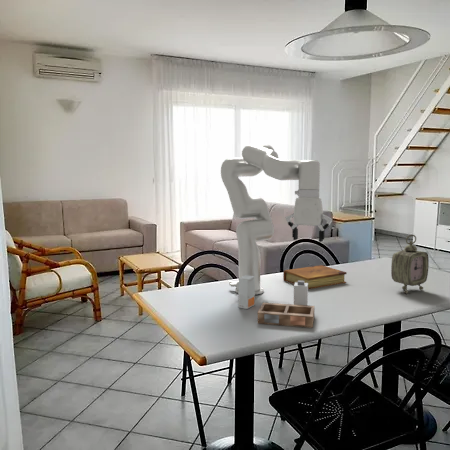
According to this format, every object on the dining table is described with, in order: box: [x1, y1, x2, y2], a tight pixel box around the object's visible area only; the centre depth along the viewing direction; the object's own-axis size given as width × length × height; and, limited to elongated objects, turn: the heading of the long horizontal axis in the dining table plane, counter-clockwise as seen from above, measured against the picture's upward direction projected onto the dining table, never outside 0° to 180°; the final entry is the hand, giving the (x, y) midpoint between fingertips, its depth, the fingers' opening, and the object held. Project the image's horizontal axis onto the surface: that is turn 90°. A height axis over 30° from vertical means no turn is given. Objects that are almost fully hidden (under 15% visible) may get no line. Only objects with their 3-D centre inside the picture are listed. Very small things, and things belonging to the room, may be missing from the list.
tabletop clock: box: [390, 234, 430, 295], centre depth 194 cm, size 14×9×25 cm, turn 123°
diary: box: [282, 264, 348, 290], centre depth 212 cm, size 23×19×6 cm
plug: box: [293, 280, 309, 306], centre depth 170 cm, size 5×5×11 cm
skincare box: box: [238, 275, 256, 310], centre depth 174 cm, size 6×4×12 cm
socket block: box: [257, 302, 315, 329], centre depth 158 cm, size 19×12×4 cm, turn 76°
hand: (308, 240), depth 164 cm, fingers open, 9 cm apart
